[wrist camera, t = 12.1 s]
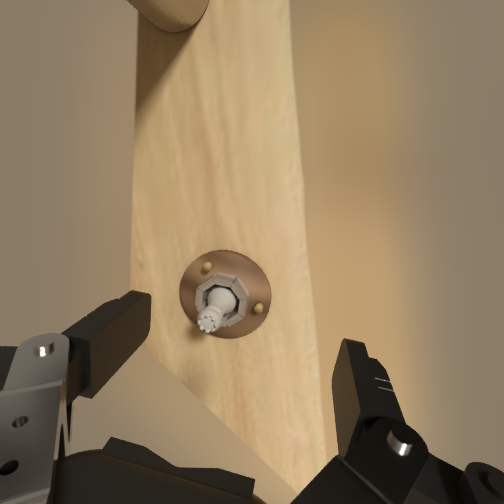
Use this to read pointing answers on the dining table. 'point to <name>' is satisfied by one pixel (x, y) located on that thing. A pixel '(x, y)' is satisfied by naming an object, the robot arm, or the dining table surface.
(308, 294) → the dining table surface
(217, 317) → the rook chess piece
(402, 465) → the robot arm
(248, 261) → the carrier disc
